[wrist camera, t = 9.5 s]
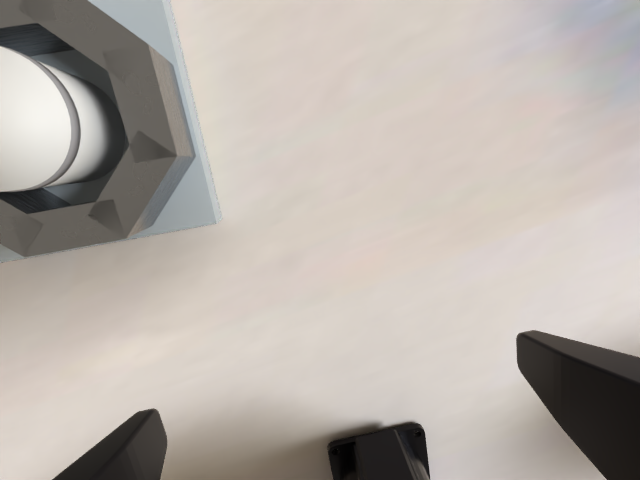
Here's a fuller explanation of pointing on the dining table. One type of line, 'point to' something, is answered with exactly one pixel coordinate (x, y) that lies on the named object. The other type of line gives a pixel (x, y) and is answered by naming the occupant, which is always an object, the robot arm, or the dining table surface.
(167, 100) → the steel ring
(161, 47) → the piston base
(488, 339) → the dining table surface
